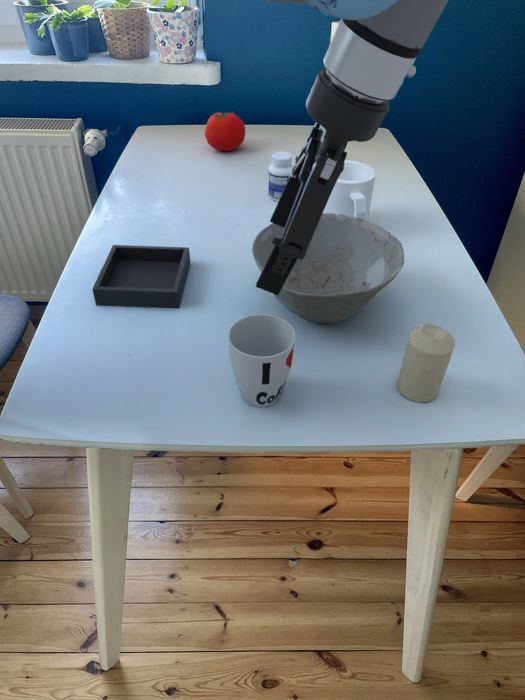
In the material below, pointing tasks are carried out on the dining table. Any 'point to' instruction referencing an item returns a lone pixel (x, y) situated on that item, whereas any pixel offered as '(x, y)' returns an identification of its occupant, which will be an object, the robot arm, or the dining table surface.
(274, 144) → the dining table surface
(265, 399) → the cup
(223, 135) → the tomato
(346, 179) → the mug
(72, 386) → the dining table surface
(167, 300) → the shallow square tray
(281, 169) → the pill bottle
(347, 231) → the ceramic bowl
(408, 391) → the candle
